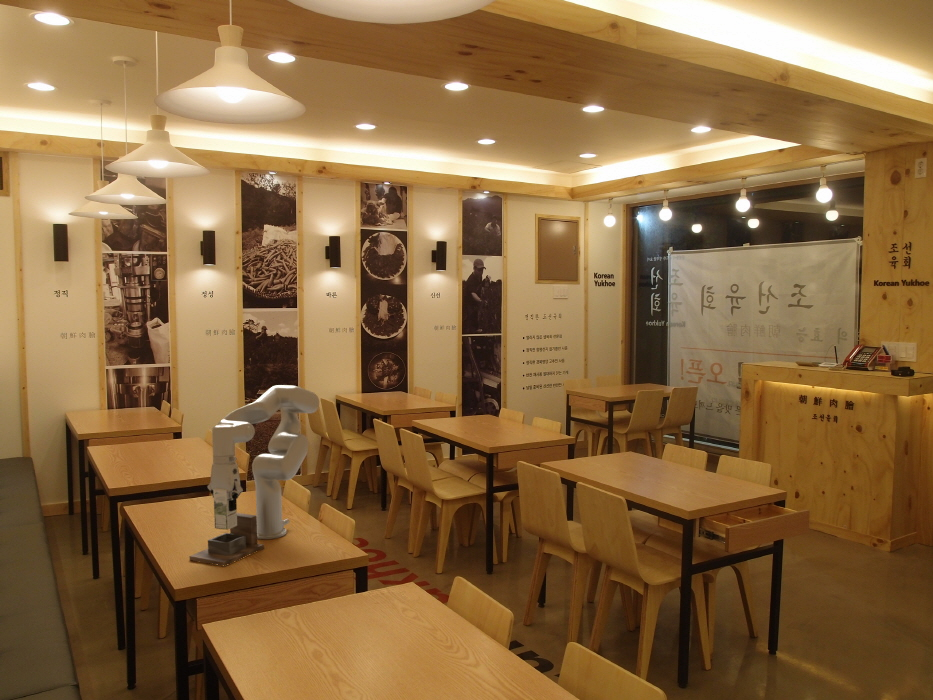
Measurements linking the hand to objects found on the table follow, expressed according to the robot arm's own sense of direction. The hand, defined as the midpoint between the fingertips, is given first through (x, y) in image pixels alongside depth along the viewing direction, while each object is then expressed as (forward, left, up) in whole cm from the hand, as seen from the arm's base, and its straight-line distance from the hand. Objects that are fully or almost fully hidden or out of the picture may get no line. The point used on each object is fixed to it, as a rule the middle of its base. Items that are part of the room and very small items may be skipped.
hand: (225, 509), depth 261 cm
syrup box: (0, 0, -7) cm, 7 cm away
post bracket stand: (0, 0, -17) cm, 17 cm away
